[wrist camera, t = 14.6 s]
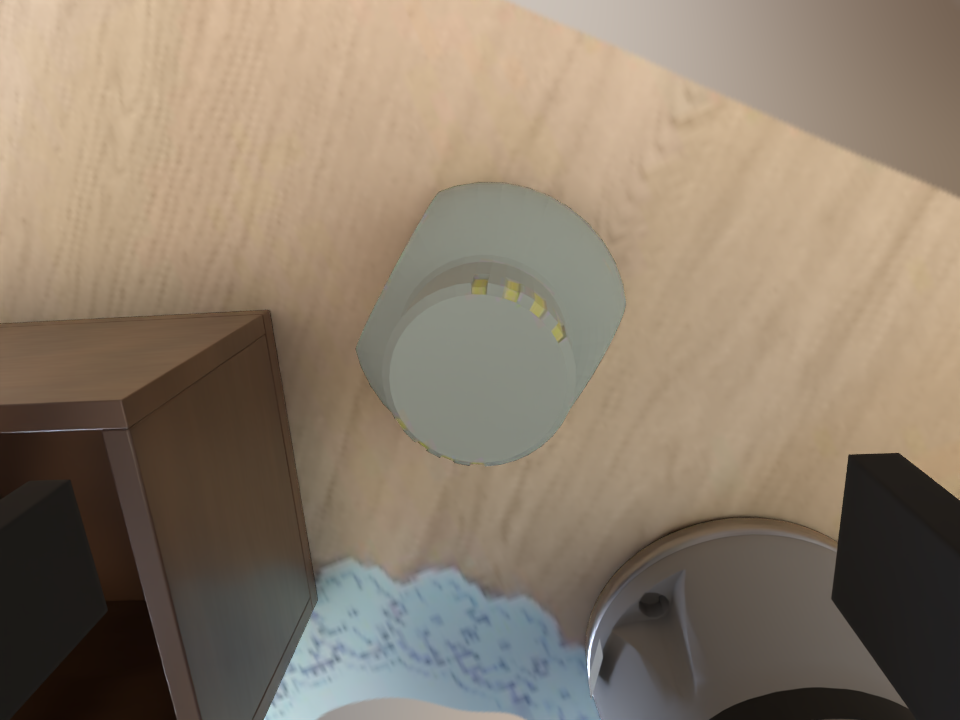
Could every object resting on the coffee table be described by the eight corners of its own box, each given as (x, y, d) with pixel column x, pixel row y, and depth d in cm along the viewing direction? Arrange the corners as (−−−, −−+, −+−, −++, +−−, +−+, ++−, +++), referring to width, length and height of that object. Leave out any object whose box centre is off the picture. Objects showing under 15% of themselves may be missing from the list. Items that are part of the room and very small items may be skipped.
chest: (270, 309, 29) (121, 399, 18) (318, 600, 34) (223, 810, 23) (-54, 325, 30) (-376, 419, 19) (36, 604, 35) (-181, 806, 24)
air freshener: (510, 446, 30) (506, 577, 21) (356, 363, 29) (278, 460, 20) (638, 246, 27) (703, 293, 18) (469, 146, 26) (441, 139, 17)
